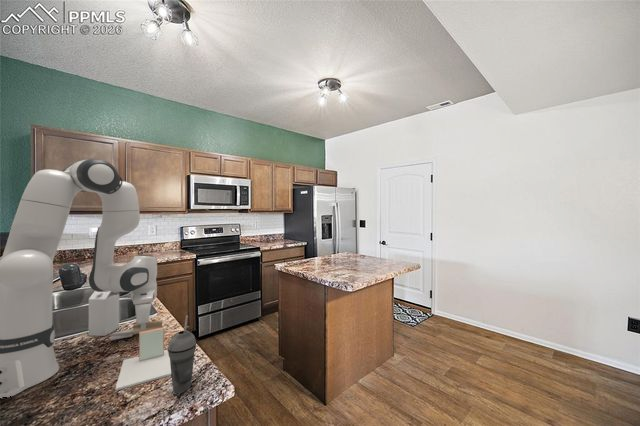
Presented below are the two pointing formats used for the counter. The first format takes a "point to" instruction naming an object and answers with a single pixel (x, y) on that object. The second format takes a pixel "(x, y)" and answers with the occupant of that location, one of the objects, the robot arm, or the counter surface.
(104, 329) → the milk carton
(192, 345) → the beverage cup
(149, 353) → the tile
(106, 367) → the counter surface
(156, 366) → the mat
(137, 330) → the turner
